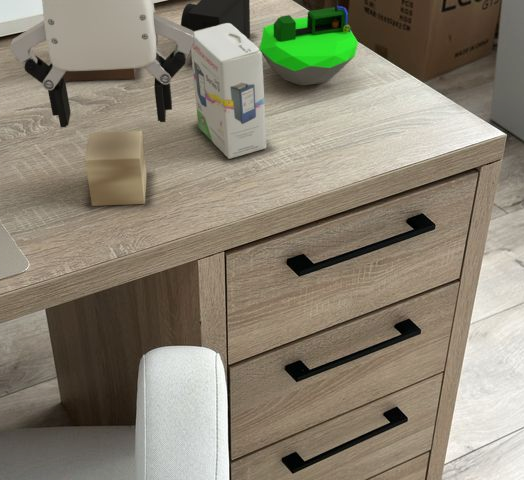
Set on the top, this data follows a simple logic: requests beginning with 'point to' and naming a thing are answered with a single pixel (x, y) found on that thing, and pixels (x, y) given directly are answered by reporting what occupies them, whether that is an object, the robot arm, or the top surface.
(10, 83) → the top surface
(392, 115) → the top surface
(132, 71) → the bottom block
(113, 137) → the toy block
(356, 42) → the toy floating island
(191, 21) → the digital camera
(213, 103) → the ink box
